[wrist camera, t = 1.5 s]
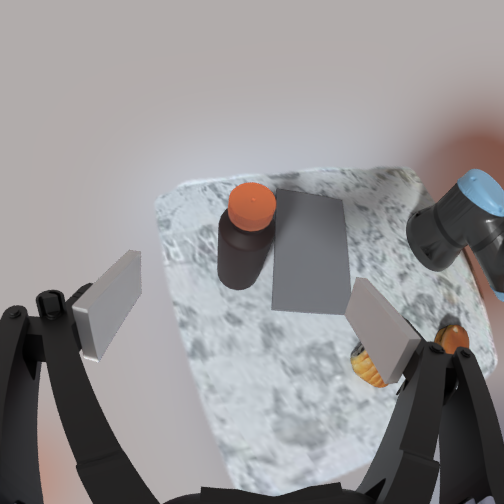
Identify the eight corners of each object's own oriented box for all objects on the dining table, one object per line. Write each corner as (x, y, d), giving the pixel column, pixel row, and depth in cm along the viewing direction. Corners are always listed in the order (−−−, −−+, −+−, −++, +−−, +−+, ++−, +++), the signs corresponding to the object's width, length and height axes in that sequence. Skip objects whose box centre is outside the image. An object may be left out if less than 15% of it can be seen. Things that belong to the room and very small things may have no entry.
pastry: (395, 370, 41) (408, 368, 37) (373, 397, 38) (385, 398, 35) (367, 335, 43) (378, 331, 40) (343, 362, 41) (353, 360, 37)
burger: (443, 379, 40) (458, 376, 36) (425, 347, 43) (440, 343, 39) (463, 348, 44) (477, 344, 39) (447, 318, 46) (461, 312, 42)
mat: (340, 202, 55) (342, 199, 54) (349, 315, 44) (351, 314, 44) (276, 191, 54) (277, 188, 53) (271, 309, 43) (272, 308, 42)
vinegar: (251, 249, 47) (273, 171, 29) (262, 285, 45) (295, 222, 27) (213, 257, 46) (213, 180, 28) (223, 295, 43) (228, 235, 25)
